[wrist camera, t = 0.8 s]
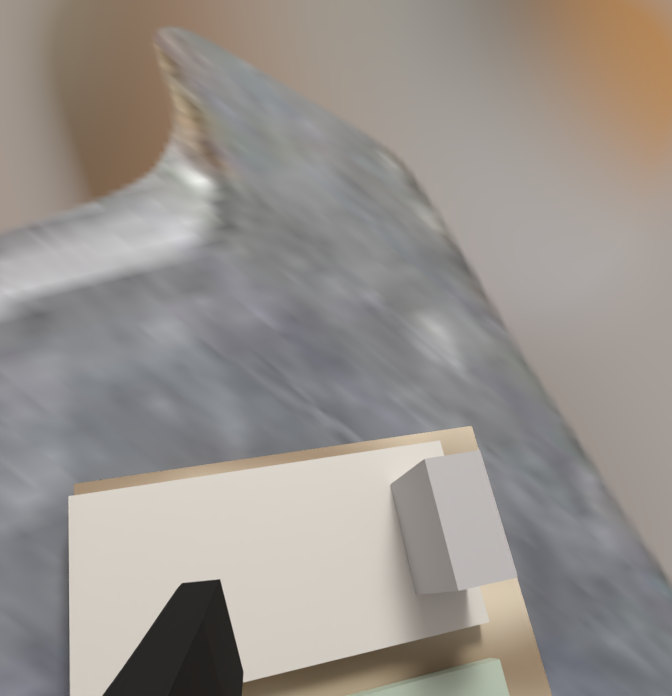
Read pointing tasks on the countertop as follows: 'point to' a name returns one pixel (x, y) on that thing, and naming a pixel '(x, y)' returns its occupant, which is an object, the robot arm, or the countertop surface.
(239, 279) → the countertop surface
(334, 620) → the white strip
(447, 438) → the base
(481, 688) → the green strip
